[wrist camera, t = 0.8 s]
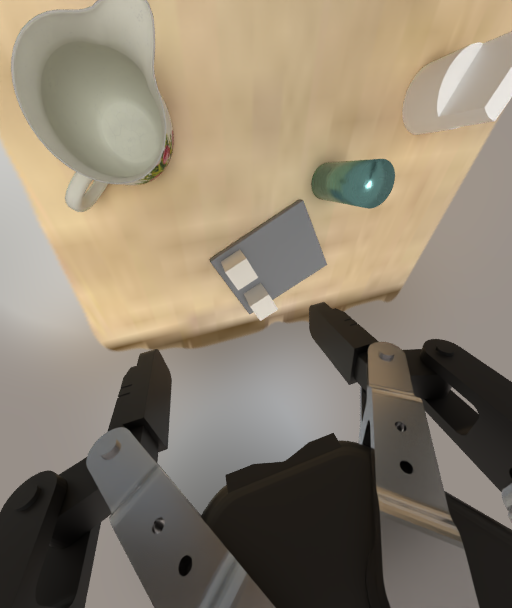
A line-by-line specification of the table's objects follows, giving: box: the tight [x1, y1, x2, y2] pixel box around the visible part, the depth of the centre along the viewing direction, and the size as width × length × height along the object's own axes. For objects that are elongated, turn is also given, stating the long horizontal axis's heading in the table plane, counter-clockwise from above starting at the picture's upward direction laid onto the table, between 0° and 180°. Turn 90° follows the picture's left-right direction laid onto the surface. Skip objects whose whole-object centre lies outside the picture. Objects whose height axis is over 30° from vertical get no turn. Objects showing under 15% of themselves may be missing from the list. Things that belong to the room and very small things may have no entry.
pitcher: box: [11, 0, 174, 212], centre depth 23 cm, size 11×18×14 cm, turn 142°
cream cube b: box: [221, 249, 258, 290], centre depth 38 cm, size 4×4×5 cm
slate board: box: [210, 200, 327, 314], centre depth 42 cm, size 19×14×2 cm
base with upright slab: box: [402, 31, 512, 135], centre depth 31 cm, size 9×9×12 cm
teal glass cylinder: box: [311, 159, 395, 208], centre depth 33 cm, size 6×6×12 cm
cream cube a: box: [244, 283, 278, 321], centre depth 42 cm, size 4×4×5 cm
